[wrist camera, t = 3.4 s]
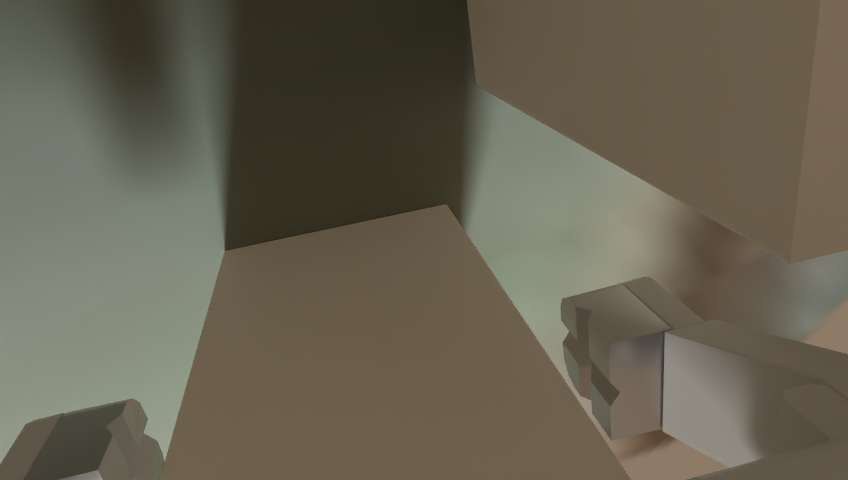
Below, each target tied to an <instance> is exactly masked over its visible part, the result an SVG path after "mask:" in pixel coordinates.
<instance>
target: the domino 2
mask: <svg viewBox="0 0 848 480" xmlns="http://www.w3.org/2000/svg"><path fill="white" fill-rule="evenodd" d="M467 7H468V16H469V25H470V34H471V43H472V52H473V60H474V69H475V78H476V86H478V87H480V88H482V89H483V90H485V91H487V92H489V93H490V94H492V95H494V96H496V97H497V98H499V99H501V100H503V101H505V102H506V103H508V104H510V105H512V106H513V107H515V108H517V109H519V110H520V111H522V112H524V113H526V114H527V115H529V116H531V117H533V118H534V119H536V120H538V121H540V122H542V123H543V124H545V125H547V126H549V127H550V128H552V129H554V130H556V131H557V132H559V133H561V134H563V135H564V136H566V137H568V138H570V139H571V140H573V141H575V142H577V143H579V144H580V145H582V146H584V147H586V148H587V149H589V150H591V151H593V152H594V153H596V154H598V155H600V156H601V157H603V158H605V159H607V160H608V161H610V162H612V163H614V164H615V165H617V166H619V167H621V168H623V169H624V170H626V171H628V172H630V173H631V174H633V175H635V176H637V177H638V178H640V179H642V180H644V181H645V182H647V183H649V184H651V185H652V186H654V187H656V188H658V189H660V190H661V191H663V192H665V193H667V194H668V195H670V196H672V197H674V198H675V199H677V200H679V201H681V202H682V203H684V204H686V205H688V206H689V207H691V208H693V209H695V210H696V211H698V212H700V213H702V214H704V215H705V216H707V217H709V218H711V219H712V220H714V221H716V222H718V223H719V224H721V225H723V226H725V227H726V228H728V229H730V230H732V231H733V232H735V233H737V234H739V235H741V236H742V237H744V238H746V239H748V240H749V241H751V242H753V243H755V244H756V245H758V246H760V247H762V248H763V249H765V250H767V251H769V252H770V253H772V254H774V255H776V256H778V257H779V258H781V259H783V260H785V261H786V262H788V263H794V262H798V261H802V260H807V259H811V258H815V257H819V256H823V255H827V254H832V253H836V252H840V251H844V250H848V0H467Z"/></svg>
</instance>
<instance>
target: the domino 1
mask: <svg viewBox="0 0 848 480" xmlns="http://www.w3.org/2000/svg"><path fill="white" fill-rule="evenodd" d="M160 480H631V479H630V477H629V476H628V474H627V473H626V471H625V470H624V468H623V467H622V465H621V464H620V462H619V461H618V459H617V458H616V456H615V455H614V453H613V452H612V450H611V449H610V447H609V446H608V444H607V443H606V441H605V440H604V438H603V437H602V435H601V434H600V432H599V431H598V429H597V428H596V426H595V425H594V423H593V422H592V420H591V419H590V417H589V416H588V414H587V413H586V412H585V410H584V409H583V407H582V406H581V404H580V403H579V401H578V400H577V398H576V397H575V395H574V394H573V392H572V391H571V389H570V388H569V386H568V385H567V383H566V382H565V380H564V379H563V377H562V376H561V374H560V373H559V371H558V370H557V368H556V367H555V365H554V364H553V362H552V361H551V359H550V358H549V356H548V355H547V353H546V352H545V350H544V349H543V347H542V346H541V344H540V343H539V341H538V340H537V338H536V337H535V335H534V334H533V332H532V331H531V329H530V328H529V326H528V325H527V323H526V322H525V321H524V319H523V318H522V316H521V315H520V313H519V312H518V310H517V309H516V307H515V306H514V304H513V303H512V301H511V300H510V298H509V297H508V295H507V294H506V292H505V291H504V289H503V288H502V286H501V285H500V283H499V282H498V280H497V279H496V277H495V276H494V274H493V273H492V271H491V270H490V268H489V267H488V265H487V264H486V262H485V261H484V259H483V258H482V256H481V255H480V253H479V252H478V250H477V249H476V247H475V246H474V244H473V243H472V241H471V240H470V238H469V237H468V235H467V234H466V232H465V231H464V229H463V228H462V227H461V225H460V224H459V222H458V221H457V219H456V218H455V216H454V215H453V213H452V212H451V210H450V209H449V207H448V206H447V204H444V205H439V206H435V207H430V208H425V209H420V210H416V211H411V212H406V213H401V214H397V215H392V216H387V217H383V218H378V219H373V220H368V221H364V222H359V223H354V224H350V225H345V226H340V227H335V228H331V229H326V230H321V231H316V232H312V233H307V234H302V235H298V236H293V237H288V238H283V239H279V240H274V241H269V242H264V243H260V244H255V245H250V246H246V247H241V248H236V249H231V250H227V251H225V252H224V256H223V259H222V263H221V266H220V270H219V273H218V277H217V280H216V284H215V287H214V291H213V294H212V298H211V301H210V305H209V308H208V312H207V315H206V319H205V322H204V326H203V329H202V333H201V336H200V340H199V343H198V347H197V350H196V354H195V358H194V361H193V365H192V368H191V372H190V375H189V379H188V382H187V386H186V389H185V393H184V396H183V400H182V403H181V407H180V410H179V414H178V417H177V421H176V424H175V428H174V431H173V435H172V438H171V442H170V445H169V449H168V452H167V456H166V459H165V463H164V467H163V470H162V474H161V477H160Z"/></svg>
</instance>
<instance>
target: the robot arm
mask: <svg viewBox="0 0 848 480" xmlns="http://www.w3.org/2000/svg"><path fill="white" fill-rule="evenodd" d="M561 321H562V322H563V323H564V325H565V326H566V327H567V329H568V330H569V333H568V335H567V336H566V338H565V340H564V341H563V350H564V360H565V363H566V367H567V371H568V374H569V377H570V379H571V381H572V383H573V385H574V387H575V388H576V390H577V391H578V393H579V394H580V396H582V397H585V398H587V399H589V400H591V401H592V414H593V415H594V416H595V418H596V419H597V421H598V422H599V424H600V425H601V426H602V428H603V429H604V431H605V432H606V434H607V435H608V436H609V438H610V439H611V441H612V440H616V439H620V438H625V437H629V436H633V435H637V434H642V433H646V432H650V431H654V430H659V429H663V432H665V433H667V434H669V435H671V436H672V437H674V438H676V439H678V440H680V441H682V442H683V443H685V444H687V445H689V446H691V447H693V448H694V449H696V450H698V451H700V452H702V453H703V454H705V455H707V456H709V457H711V458H713V459H714V460H716V461H718V462H720V463H722V464H724V465H725V466H727V467H729V468H728V469H724V470H720V471H717V472H713V473H709V474H706V475H702V476H699V477H695V478H691V479H688V480H848V354H845V353H841V352H837V351H833V350H829V349H825V348H821V347H818V346H814V345H809V344H806V343H802V342H798V341H794V340H791V339H787V338H783V337H779V336H775V335H771V334H767V333H764V332H760V331H756V330H752V329H748V328H744V327H741V326H737V325H733V324H729V323H725V322H721V321H717V320H709V321H703V320H702V319H701V318H700V317H699V316H697V315H696V314H695V313H694V312H692V311H691V310H690V309H689V308H688V307H686V306H685V305H684V304H683V303H681V302H680V301H679V300H678V299H677V298H675V297H674V296H673V295H672V294H670V293H669V292H668V291H667V290H666V289H664V288H663V287H662V286H661V285H659V284H658V283H657V282H656V281H655V280H653V279H652V278H649V277H642V278H638V279H634V280H631V281H627V282H623V283H620V284H617V285H613V286H609V287H606V288H602V289H598V290H594V291H590V292H586V293H583V294H579V295H575V296H571V297H567V298H563V299H562V303H561ZM147 420H148V418H147V416H146V414H145V412H144V410H143V408H142V406H141V404H140V402H138V401H136V400H134V399H128V400H123V401H119V402H114V403H109V404H105V405H100V406H95V407H91V408H86V409H82V410H77V411H72V412H68V413H62V414H58V415H54V416H50V417H46V418H41V419H37V420H34V421H32V422H30V423H28V424H26V425H25V426H24V428H23V429H22V431H21V433H20V434H19V436H18V437H17V439H16V440H15V442H14V444H13V445H12V447H11V448H10V450H9V451H8V453H7V455H6V456H5V458H4V459H3V461H2V462H1V464H0V480H160V477H161V474H162V470H163V467H164V463H165V462H164V458H163V453H162V451H161V449H160V446H159V444H158V441H156V440H154V439H153V438H151V437H149V436H148V435H146V434H144V433H143V432H144V429H145V426H146V423H147Z"/></svg>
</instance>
